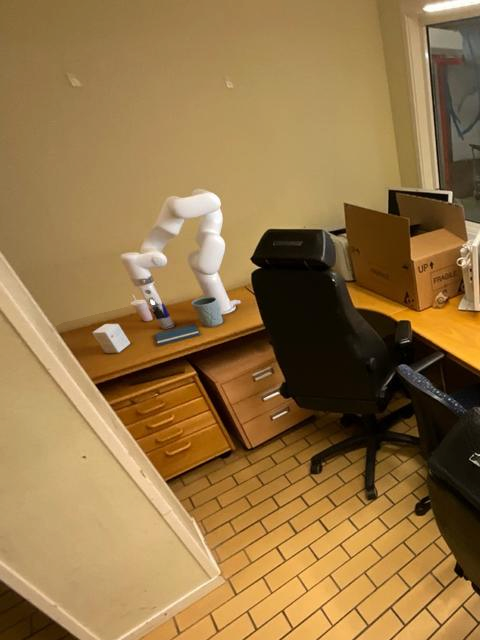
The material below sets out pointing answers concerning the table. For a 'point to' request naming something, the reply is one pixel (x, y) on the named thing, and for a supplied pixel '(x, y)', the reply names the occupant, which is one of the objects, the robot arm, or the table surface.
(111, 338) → the small box
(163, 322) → the energy drink
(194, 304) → the blue plant pot
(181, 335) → the book
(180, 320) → the table surface
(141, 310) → the smoothie
